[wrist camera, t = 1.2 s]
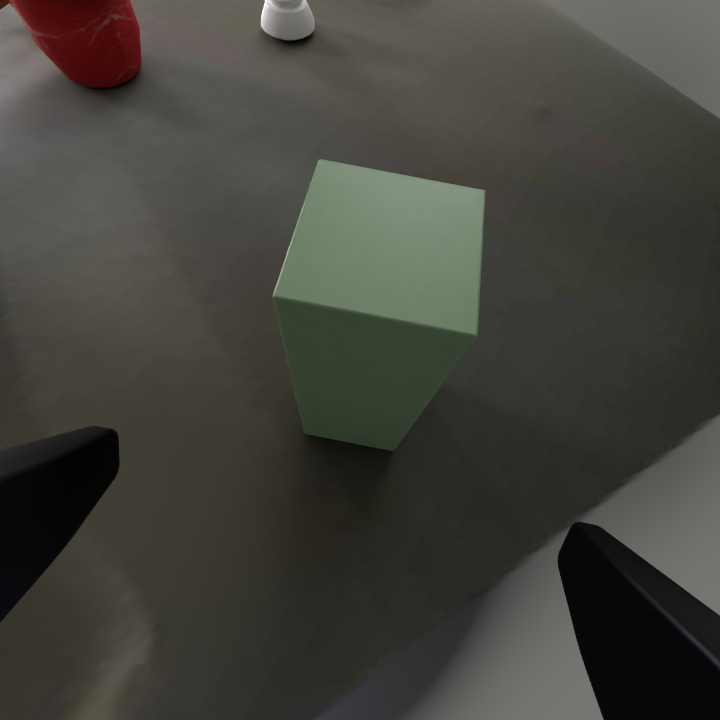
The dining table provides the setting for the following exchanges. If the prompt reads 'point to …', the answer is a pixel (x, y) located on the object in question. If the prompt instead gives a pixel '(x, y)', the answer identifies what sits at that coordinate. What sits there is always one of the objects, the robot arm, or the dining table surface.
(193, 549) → the dining table surface
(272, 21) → the white jar
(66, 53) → the water bottle
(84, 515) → the robot arm
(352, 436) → the block
